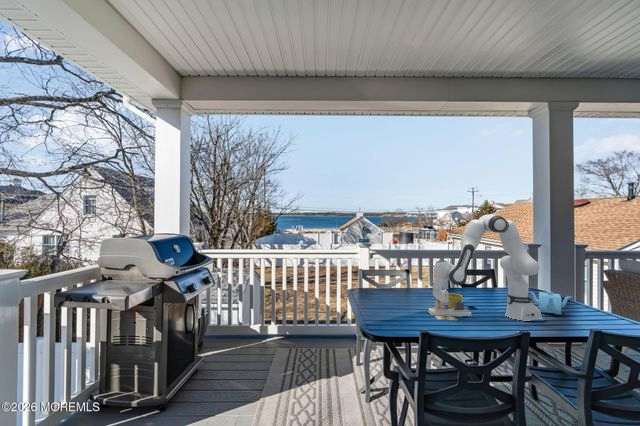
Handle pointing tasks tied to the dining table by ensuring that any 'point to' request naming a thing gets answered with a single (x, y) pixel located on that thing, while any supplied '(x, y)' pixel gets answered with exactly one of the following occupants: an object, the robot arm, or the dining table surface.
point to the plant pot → (453, 299)
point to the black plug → (459, 305)
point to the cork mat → (445, 318)
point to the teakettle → (550, 302)
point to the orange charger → (439, 305)
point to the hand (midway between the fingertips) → (440, 306)
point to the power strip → (449, 312)
